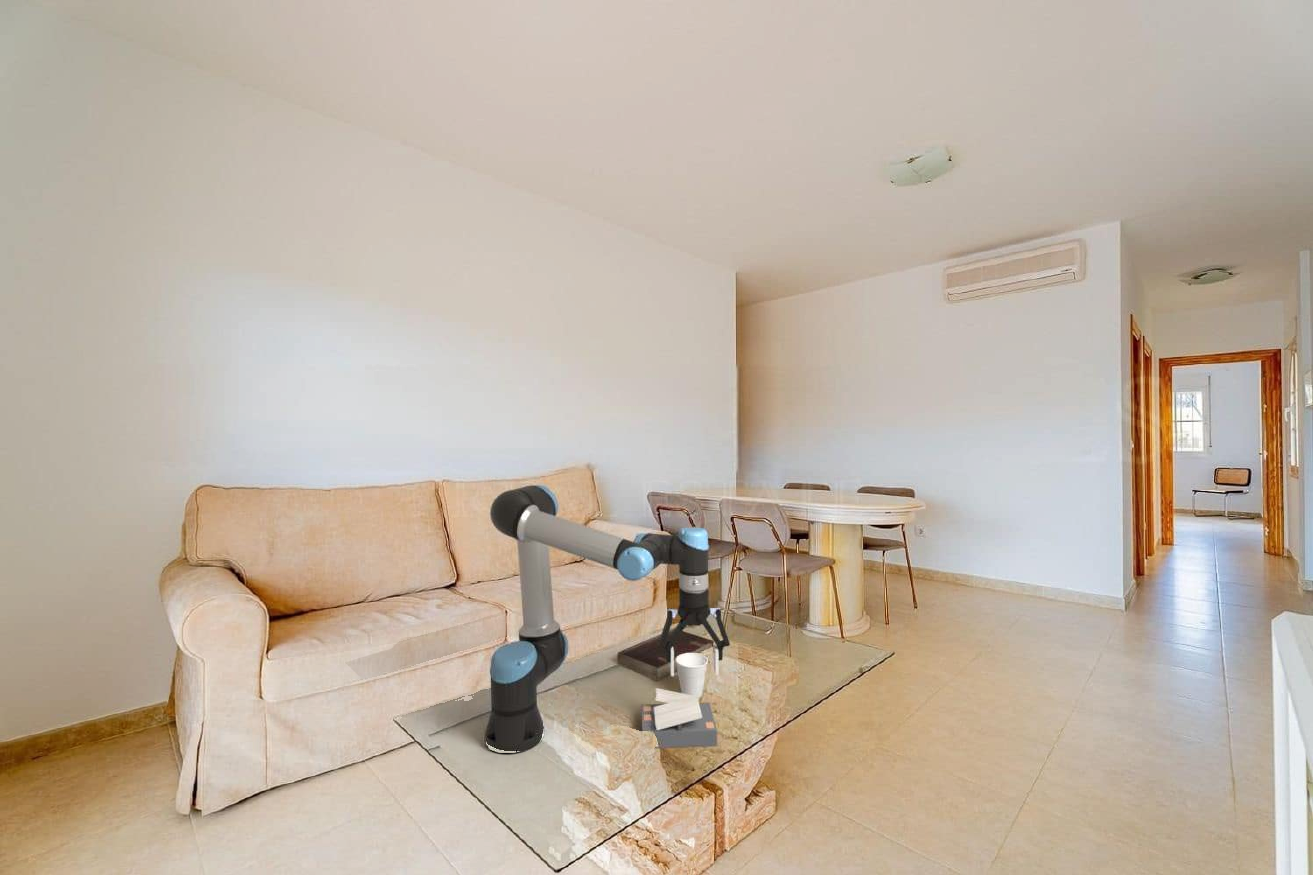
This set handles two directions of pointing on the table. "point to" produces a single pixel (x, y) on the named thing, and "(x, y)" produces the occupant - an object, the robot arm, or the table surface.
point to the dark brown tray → (660, 654)
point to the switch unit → (682, 729)
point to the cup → (692, 673)
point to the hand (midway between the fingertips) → (694, 672)
